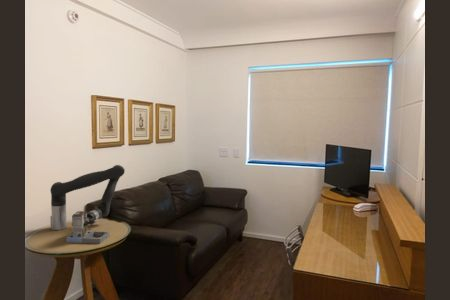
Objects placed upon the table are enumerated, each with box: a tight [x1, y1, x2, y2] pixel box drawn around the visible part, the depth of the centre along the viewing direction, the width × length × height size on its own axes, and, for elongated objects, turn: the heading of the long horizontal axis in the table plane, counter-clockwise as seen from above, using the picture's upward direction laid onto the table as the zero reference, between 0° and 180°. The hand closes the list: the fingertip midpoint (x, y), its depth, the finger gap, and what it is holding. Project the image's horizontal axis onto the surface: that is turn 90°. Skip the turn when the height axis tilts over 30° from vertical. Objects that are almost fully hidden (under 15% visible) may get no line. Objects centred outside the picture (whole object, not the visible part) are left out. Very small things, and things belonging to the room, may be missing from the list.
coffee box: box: [71, 210, 89, 238], centre depth 198 cm, size 9×6×16 cm
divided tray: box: [66, 230, 110, 244], centre depth 198 cm, size 22×13×4 cm, turn 86°
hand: (78, 224), depth 196 cm, fingers closed on coffee box, 7 cm apart
